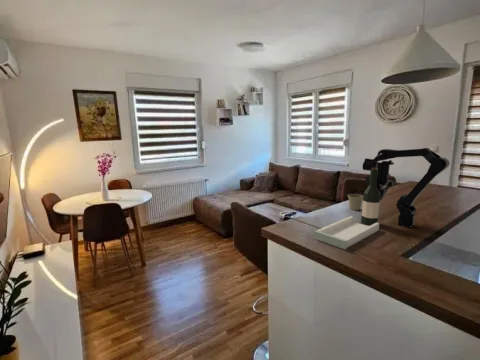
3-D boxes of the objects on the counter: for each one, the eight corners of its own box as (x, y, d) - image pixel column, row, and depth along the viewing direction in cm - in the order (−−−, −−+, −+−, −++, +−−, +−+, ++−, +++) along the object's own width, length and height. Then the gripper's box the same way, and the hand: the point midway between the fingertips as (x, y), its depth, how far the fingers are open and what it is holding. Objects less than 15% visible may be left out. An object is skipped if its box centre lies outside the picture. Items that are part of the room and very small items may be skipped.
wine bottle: (380, 226, 139) (385, 169, 133) (362, 225, 141) (367, 169, 135) (375, 221, 147) (380, 167, 142) (359, 220, 149) (363, 166, 143)
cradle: (378, 230, 134) (379, 223, 133) (344, 249, 113) (345, 241, 112) (349, 222, 145) (350, 216, 145) (314, 238, 124) (314, 231, 123)
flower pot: (348, 206, 176) (349, 193, 175) (363, 208, 172) (364, 195, 170) (345, 209, 169) (346, 196, 167) (361, 212, 164) (362, 198, 162)
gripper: (375, 168, 158) (373, 194, 161) (360, 172, 147) (357, 199, 150) (395, 171, 150) (393, 198, 153) (381, 174, 138) (378, 203, 141)
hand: (380, 199), depth 149 cm, fingers closed
